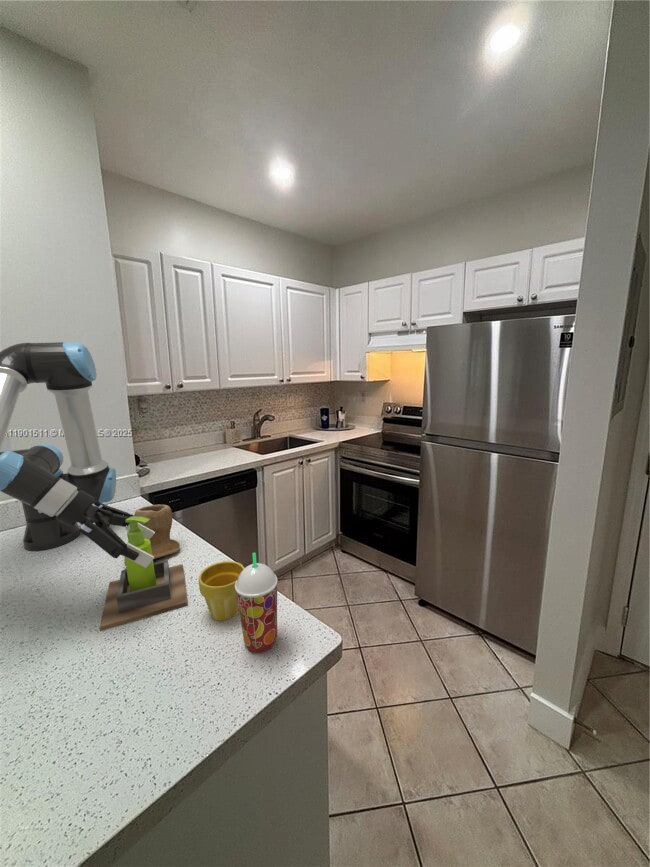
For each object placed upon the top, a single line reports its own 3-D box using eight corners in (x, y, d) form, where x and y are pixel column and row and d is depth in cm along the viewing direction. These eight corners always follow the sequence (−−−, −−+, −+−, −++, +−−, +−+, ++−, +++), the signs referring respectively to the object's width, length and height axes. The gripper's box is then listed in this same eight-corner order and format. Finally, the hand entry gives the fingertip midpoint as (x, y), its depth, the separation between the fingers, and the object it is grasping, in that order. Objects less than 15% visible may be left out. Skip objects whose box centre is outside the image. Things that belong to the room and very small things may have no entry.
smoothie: (243, 628, 76) (235, 544, 72) (282, 625, 77) (276, 541, 73) (237, 660, 68) (228, 567, 64) (280, 656, 69) (274, 563, 65)
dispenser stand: (110, 585, 93) (107, 568, 92) (183, 567, 100) (181, 551, 99) (99, 631, 77) (96, 610, 76) (187, 605, 84) (185, 586, 83)
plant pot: (256, 600, 85) (253, 564, 83) (232, 631, 76) (228, 590, 74) (220, 592, 89) (216, 557, 87) (192, 621, 79) (187, 582, 77)
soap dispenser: (150, 601, 85) (138, 524, 80) (125, 598, 86) (112, 522, 82) (165, 586, 90) (155, 513, 86) (142, 583, 92) (131, 512, 88)
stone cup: (175, 539, 117) (170, 496, 114) (182, 555, 107) (176, 509, 104) (123, 553, 109) (116, 508, 106) (125, 572, 99) (117, 522, 96)
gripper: (67, 498, 89) (142, 538, 98) (36, 542, 66) (137, 589, 75) (89, 474, 90) (161, 517, 99) (65, 510, 67) (161, 560, 77)
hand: (150, 548), depth 87 cm, fingers open, 13 cm apart
